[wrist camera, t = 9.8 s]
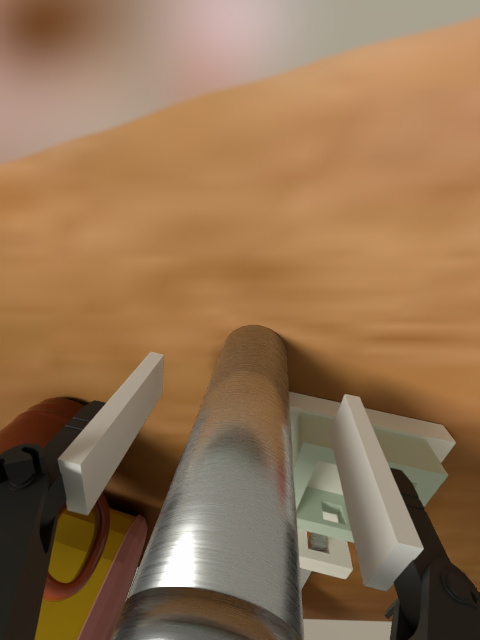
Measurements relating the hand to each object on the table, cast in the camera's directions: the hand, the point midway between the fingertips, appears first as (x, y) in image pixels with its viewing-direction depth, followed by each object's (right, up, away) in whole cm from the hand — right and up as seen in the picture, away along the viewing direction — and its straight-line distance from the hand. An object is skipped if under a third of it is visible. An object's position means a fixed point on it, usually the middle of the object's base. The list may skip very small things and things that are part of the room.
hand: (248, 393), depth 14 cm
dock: (+7, -8, +7) cm, 13 cm away
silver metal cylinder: (+1, +2, +4) cm, 4 cm away
